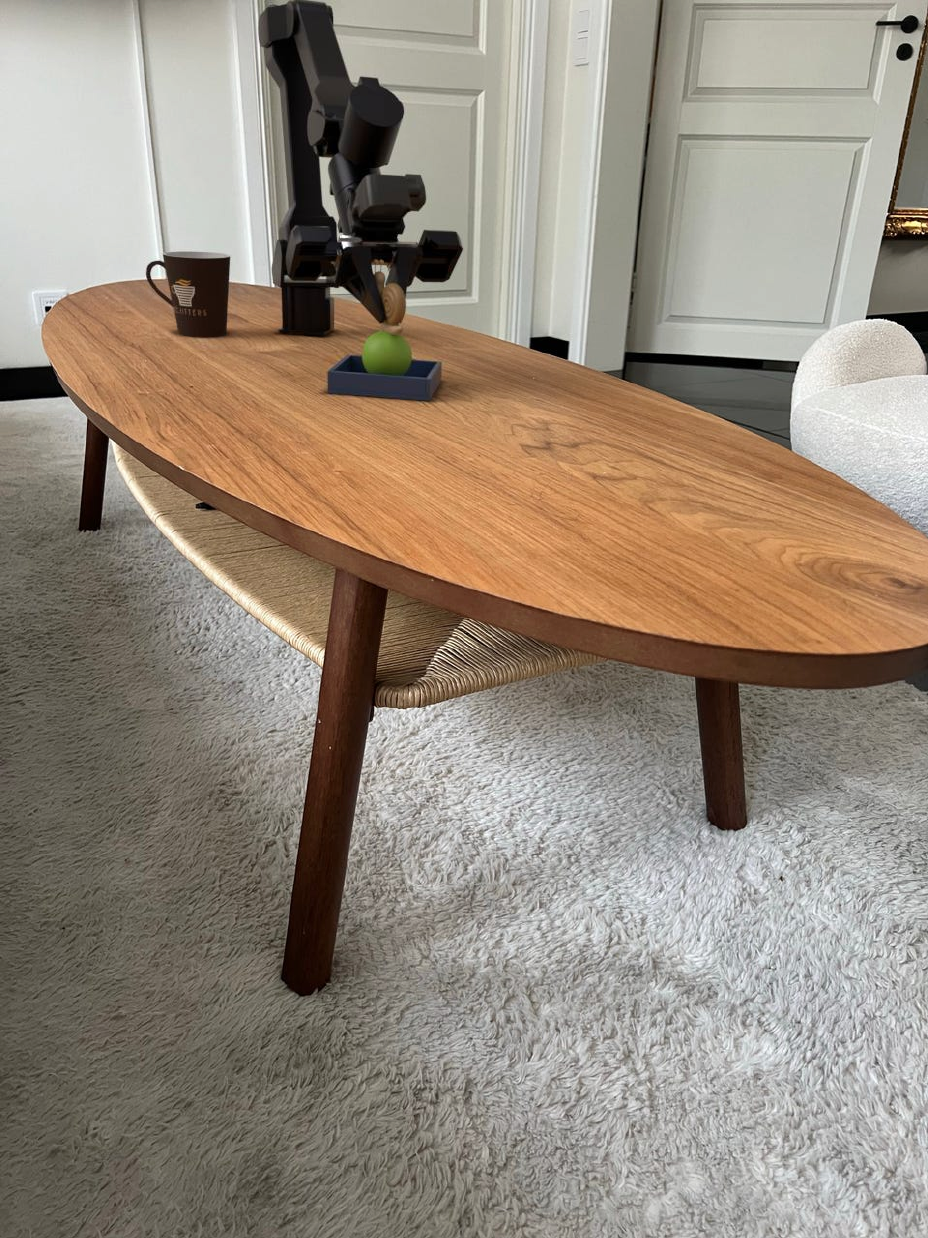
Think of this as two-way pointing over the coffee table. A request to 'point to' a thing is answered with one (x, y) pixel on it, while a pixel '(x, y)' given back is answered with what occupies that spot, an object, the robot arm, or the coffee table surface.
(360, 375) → the blue tray
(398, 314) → the snail figurine
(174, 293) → the coffee mug
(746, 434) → the coffee table surface
